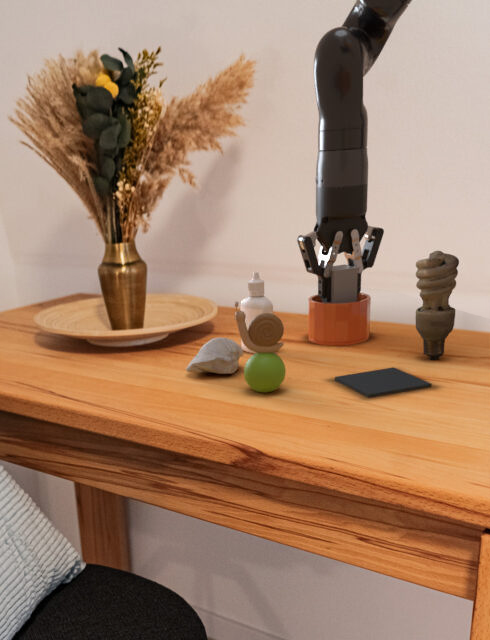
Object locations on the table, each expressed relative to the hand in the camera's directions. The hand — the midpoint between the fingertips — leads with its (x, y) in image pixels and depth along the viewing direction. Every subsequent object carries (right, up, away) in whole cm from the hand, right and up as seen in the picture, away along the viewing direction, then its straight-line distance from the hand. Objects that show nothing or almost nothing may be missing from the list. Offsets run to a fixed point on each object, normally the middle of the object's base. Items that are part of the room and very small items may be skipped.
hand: (339, 298), depth 132 cm
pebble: (-20, -13, -10) cm, 26 cm away
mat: (+1, -17, -21) cm, 27 cm away
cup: (0, -6, +3) cm, 6 cm away
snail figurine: (-15, -18, -20) cm, 30 cm away
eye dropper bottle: (-13, -9, 0) cm, 15 cm away
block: (0, -5, +2) cm, 6 cm away
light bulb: (+10, -12, -12) cm, 20 cm away
